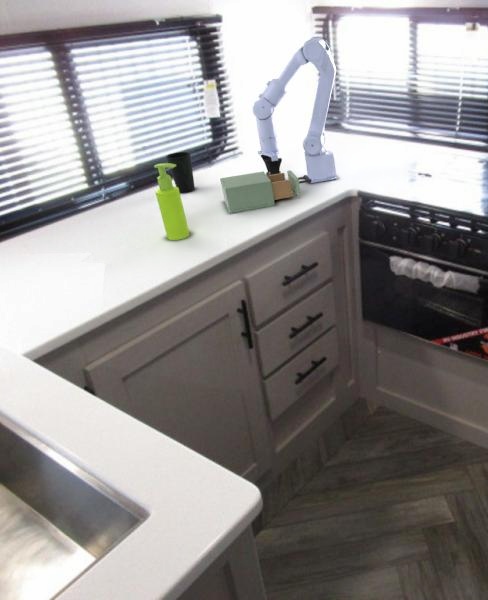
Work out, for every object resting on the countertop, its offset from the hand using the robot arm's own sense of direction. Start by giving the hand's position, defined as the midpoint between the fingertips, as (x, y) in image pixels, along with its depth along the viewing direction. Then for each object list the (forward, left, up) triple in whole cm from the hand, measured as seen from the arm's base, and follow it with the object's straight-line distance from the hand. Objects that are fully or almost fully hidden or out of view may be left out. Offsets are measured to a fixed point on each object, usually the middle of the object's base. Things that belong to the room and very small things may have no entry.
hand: (274, 176), depth 196 cm
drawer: (+1, +19, 0) cm, 19 cm away
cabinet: (+12, +19, -1) cm, 23 cm away
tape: (0, 0, -1) cm, 1 cm away
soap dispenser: (+34, +36, -2) cm, 50 cm away
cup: (+29, -6, -2) cm, 30 cm away
